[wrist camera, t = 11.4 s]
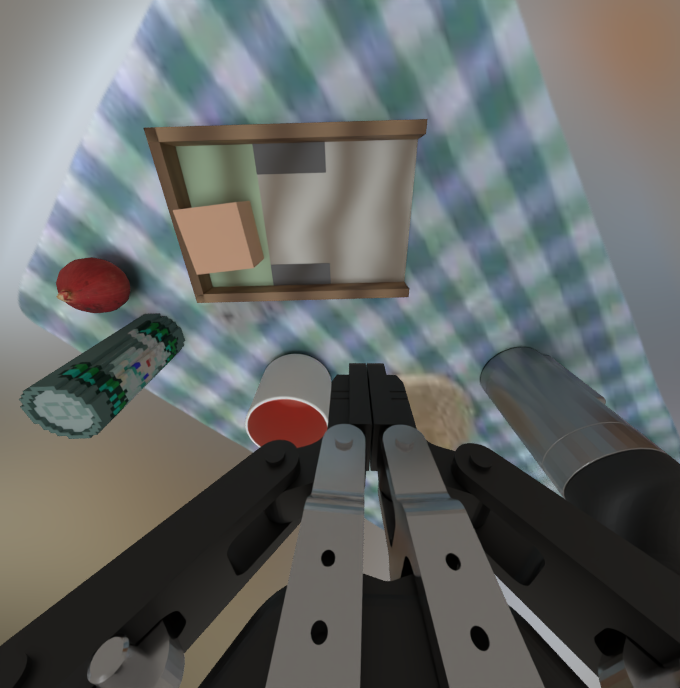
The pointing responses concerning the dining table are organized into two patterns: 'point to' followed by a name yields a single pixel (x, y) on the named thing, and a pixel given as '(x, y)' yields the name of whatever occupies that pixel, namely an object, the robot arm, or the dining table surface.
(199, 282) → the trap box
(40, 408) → the can
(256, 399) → the cup
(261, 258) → the block
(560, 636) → the robot arm
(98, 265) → the red oval fruit
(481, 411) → the dining table surface
